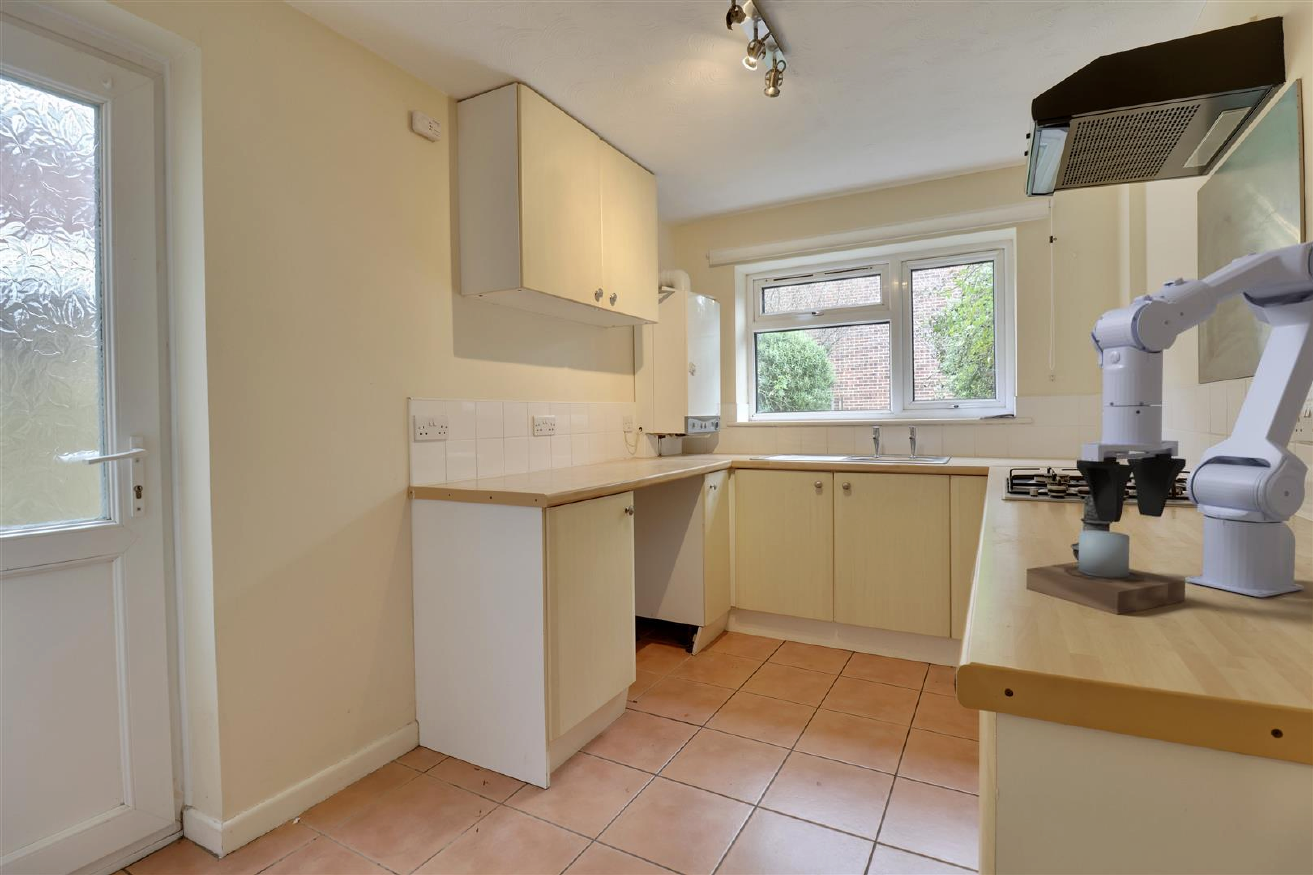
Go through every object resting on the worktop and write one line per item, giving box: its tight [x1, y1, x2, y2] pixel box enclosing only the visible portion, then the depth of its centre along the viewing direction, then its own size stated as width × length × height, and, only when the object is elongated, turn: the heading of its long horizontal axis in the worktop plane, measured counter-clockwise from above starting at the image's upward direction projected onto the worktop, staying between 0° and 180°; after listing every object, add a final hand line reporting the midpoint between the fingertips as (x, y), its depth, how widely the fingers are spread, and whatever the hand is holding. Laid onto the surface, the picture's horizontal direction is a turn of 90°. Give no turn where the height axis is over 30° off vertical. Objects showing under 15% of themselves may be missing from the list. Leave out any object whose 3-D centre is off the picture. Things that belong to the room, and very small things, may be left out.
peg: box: [1078, 530, 1131, 580], centre depth 76 cm, size 5×5×7 cm
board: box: [1026, 561, 1186, 615], centre depth 76 cm, size 12×11×2 cm
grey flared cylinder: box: [1070, 494, 1114, 562], centre depth 85 cm, size 6×6×12 cm
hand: (1130, 518), depth 75 cm, fingers open, 7 cm apart
